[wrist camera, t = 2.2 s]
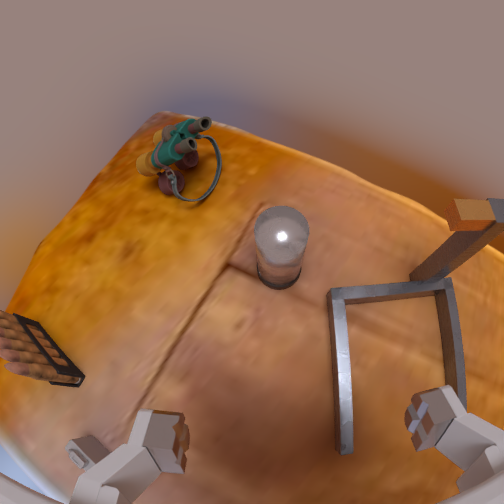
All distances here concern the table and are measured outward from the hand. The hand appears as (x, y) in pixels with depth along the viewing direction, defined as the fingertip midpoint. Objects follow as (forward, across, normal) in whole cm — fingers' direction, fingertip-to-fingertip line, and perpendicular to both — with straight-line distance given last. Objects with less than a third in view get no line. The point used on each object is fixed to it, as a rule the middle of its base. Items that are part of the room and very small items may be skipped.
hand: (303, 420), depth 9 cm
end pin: (+23, -1, +5) cm, 24 cm away
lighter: (+8, +18, +21) cm, 29 cm away
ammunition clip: (+17, +26, +13) cm, 34 cm away
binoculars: (+33, +10, -4) cm, 35 cm away
